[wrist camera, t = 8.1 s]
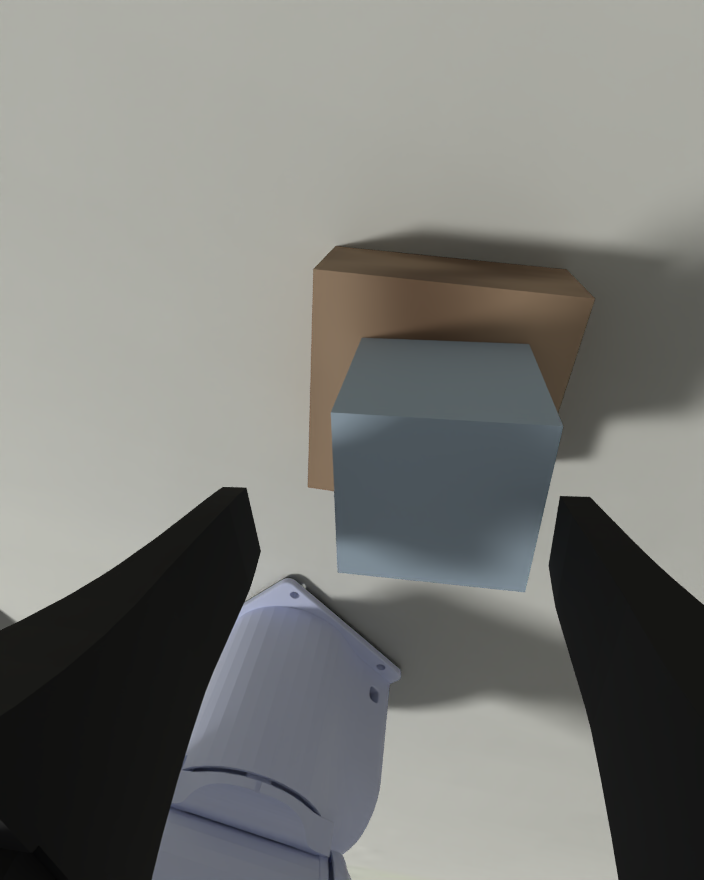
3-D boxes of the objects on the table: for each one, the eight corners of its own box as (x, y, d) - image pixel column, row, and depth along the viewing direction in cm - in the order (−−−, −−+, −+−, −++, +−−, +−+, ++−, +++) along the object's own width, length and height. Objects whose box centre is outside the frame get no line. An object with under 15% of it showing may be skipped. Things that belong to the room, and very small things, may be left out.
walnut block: (564, 267, 17) (595, 298, 14) (510, 458, 21) (523, 518, 18) (337, 244, 18) (313, 269, 15) (327, 434, 22) (307, 487, 19)
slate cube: (529, 343, 15) (563, 426, 11) (505, 481, 17) (524, 592, 13) (361, 337, 15) (330, 412, 11) (362, 470, 18) (337, 572, 14)
